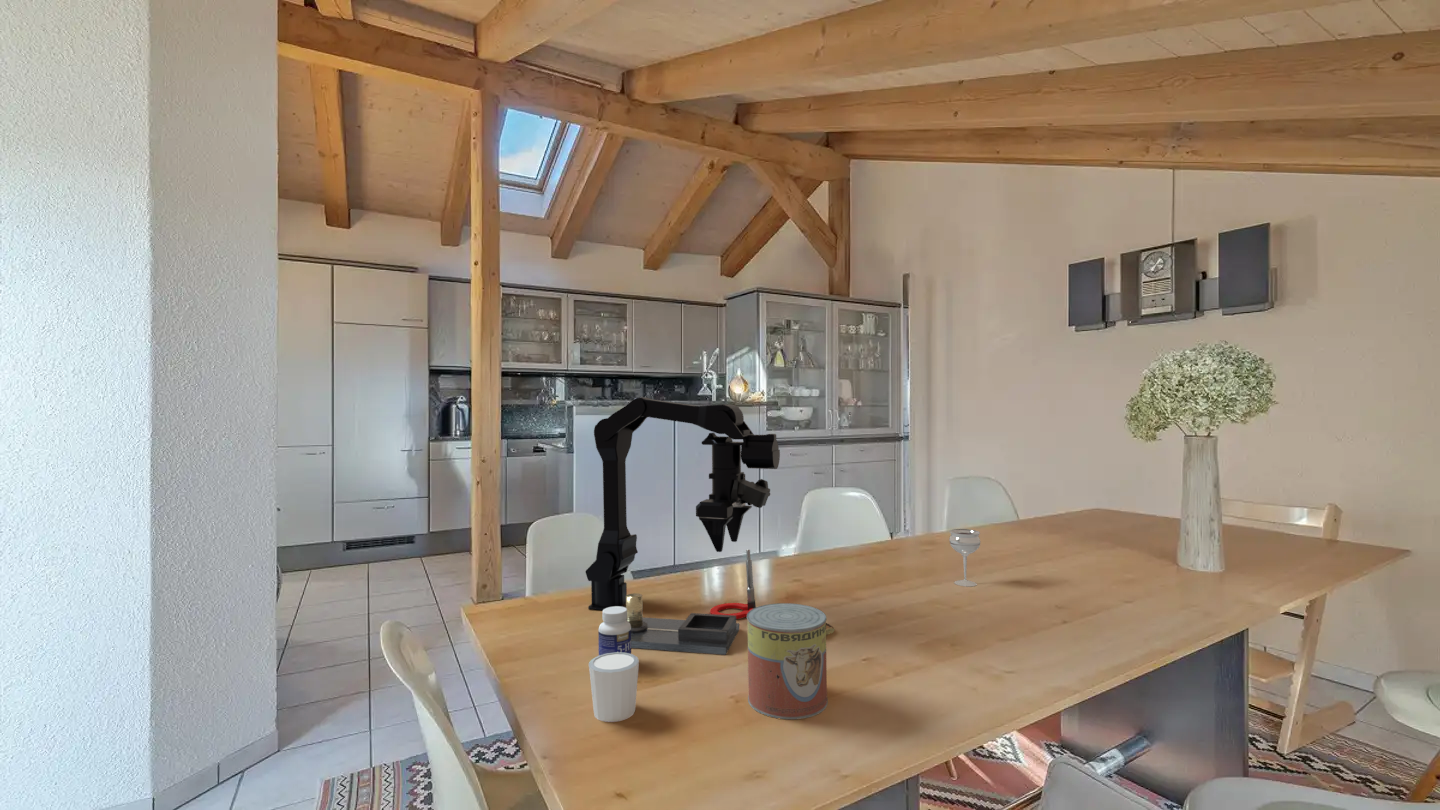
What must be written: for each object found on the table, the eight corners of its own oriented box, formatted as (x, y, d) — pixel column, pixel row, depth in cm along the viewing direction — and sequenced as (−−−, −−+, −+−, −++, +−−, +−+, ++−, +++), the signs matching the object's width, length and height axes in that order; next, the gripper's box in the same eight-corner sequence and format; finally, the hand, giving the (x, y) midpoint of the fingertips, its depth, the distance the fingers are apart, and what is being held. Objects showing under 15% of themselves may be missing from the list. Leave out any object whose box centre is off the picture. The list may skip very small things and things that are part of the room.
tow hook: (708, 622, 122) (756, 620, 122) (704, 557, 123) (752, 554, 122) (711, 609, 131) (755, 607, 130) (707, 547, 131) (752, 545, 130)
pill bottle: (621, 673, 99) (620, 616, 99) (592, 668, 100) (591, 613, 101) (637, 660, 104) (636, 606, 104) (609, 656, 105) (608, 603, 106)
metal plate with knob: (598, 645, 110) (598, 604, 110) (623, 622, 122) (623, 585, 122) (725, 654, 105) (725, 612, 105) (739, 629, 117) (738, 591, 117)
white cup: (592, 701, 89) (591, 652, 89) (640, 698, 90) (639, 650, 90) (586, 725, 82) (585, 672, 82) (638, 722, 83) (637, 670, 83)
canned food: (771, 726, 81) (770, 634, 82) (735, 691, 92) (733, 609, 92) (843, 709, 86) (842, 621, 86) (801, 677, 96) (800, 599, 96)
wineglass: (953, 587, 142) (952, 534, 142) (947, 578, 149) (946, 528, 149) (984, 588, 141) (983, 535, 141) (977, 579, 148) (976, 529, 148)
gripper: (752, 474, 112) (752, 560, 112) (777, 464, 130) (778, 539, 130) (694, 472, 116) (695, 556, 116) (726, 463, 133) (727, 536, 133)
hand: (726, 546), depth 124 cm, fingers open, 9 cm apart
